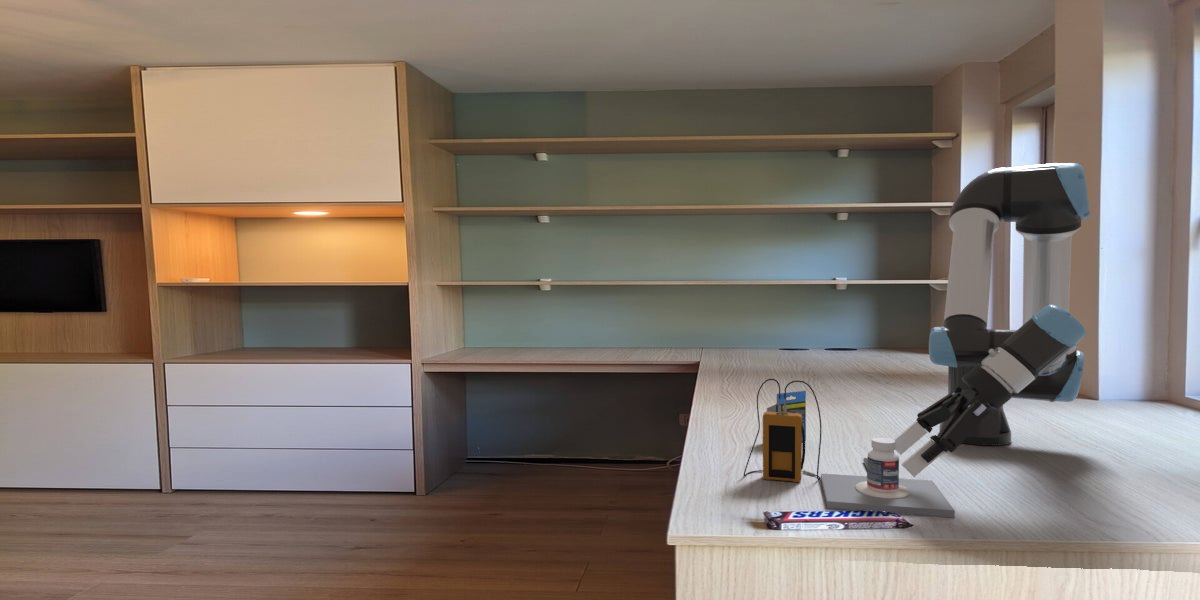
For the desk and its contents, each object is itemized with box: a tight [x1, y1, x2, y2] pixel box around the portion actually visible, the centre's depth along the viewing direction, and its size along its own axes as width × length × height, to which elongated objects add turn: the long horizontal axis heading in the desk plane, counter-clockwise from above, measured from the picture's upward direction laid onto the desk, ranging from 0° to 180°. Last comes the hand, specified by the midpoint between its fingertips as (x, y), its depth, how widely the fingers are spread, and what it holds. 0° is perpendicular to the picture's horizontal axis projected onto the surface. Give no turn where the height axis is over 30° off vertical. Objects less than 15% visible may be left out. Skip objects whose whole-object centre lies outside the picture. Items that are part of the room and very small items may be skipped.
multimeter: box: [743, 378, 822, 483], centre depth 134 cm, size 15×10×20 cm
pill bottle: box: [866, 437, 900, 493], centre depth 121 cm, size 5×5×9 cm
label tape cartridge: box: [766, 390, 807, 443], centre depth 159 cm, size 9×4×12 cm, turn 114°
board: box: [820, 457, 956, 519], centre depth 128 cm, size 30×20×2 cm, turn 166°
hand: (900, 459), depth 120 cm, fingers open, 13 cm apart
